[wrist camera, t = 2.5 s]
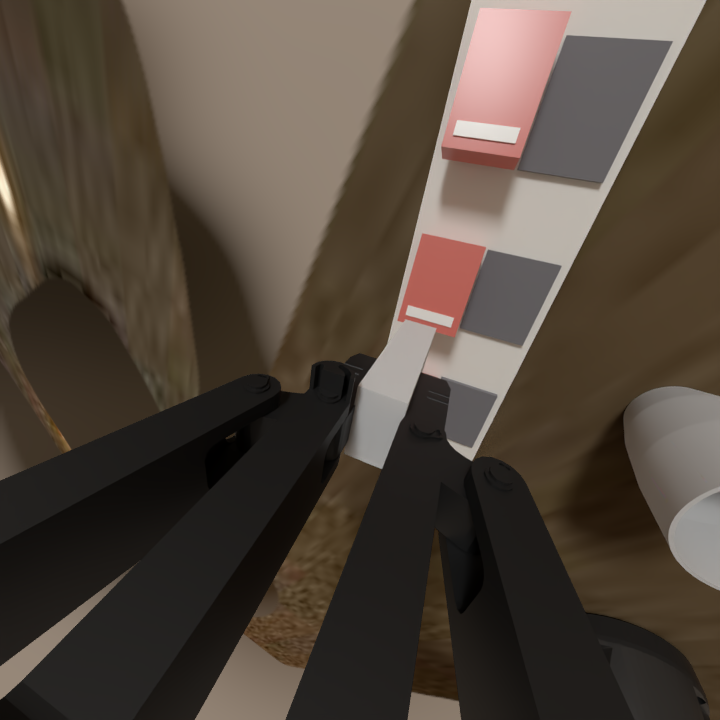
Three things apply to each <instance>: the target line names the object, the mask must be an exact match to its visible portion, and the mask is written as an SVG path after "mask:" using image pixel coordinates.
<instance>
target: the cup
mask: <svg viewBox="0 0 720 720" xmlns="http://www.w3.org/2000/svg"><path fill="white" fill-rule="evenodd" d="M623 422H624V439H625V446H626V449H627V452H628V455H629V458H630V461H631V464H632V467H633V470H634V473H635V476H636V479H637V482H638V485H639V488H640V490H641V492H642V494H643V496H644V498H645V500H646V502H647V504H648V506H649V508H650V510H651V512H652V514H653V516H654V518H655V520H656V522H657V524H658V526H659V528H660V529H661V531H662V533H663V535H664V537H665V539H666V541H667V543H668V545H669V547H670V549H671V551H672V553H673V555H674V557H675V558H676V560H677V561H678V562H679V563H680V565H681V566H682V567H683V568H684V569H685V570H687V571H688V572H689V573H690V574H691V575H693V576H694V577H696V578H697V579H699V580H700V581H702V582H704V583H705V584H707V585H709V586H711V587H713V588H715V589H718V590H720V396H716V395H713V394H709V393H705V392H702V391H698V390H695V389H691V388H687V387H677V386H672V387H662V388H657V389H653V390H650V391H648V392H645V393H643V394H641V395H640V396H638V397H637V398H635V399H634V400H633V401H632V402H631V403H630V404H629V405H628V406H627V408H626V410H625V412H624V416H623Z"/></svg>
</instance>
